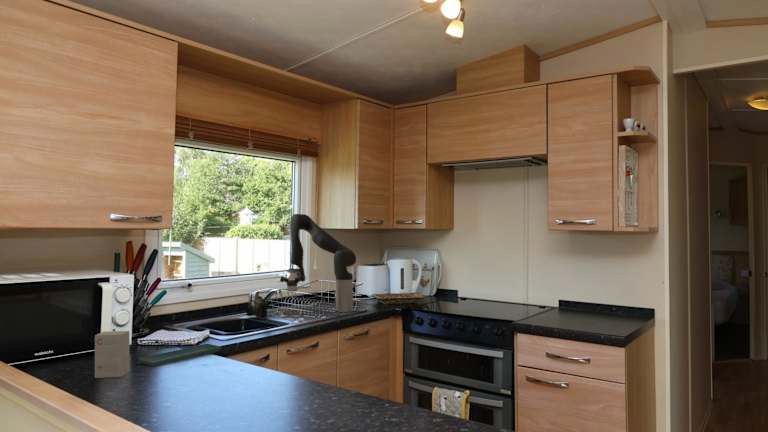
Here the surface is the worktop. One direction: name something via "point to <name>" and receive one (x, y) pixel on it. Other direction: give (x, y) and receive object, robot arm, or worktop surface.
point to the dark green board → (180, 354)
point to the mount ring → (290, 312)
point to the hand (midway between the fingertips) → (291, 280)
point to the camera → (258, 308)
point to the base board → (291, 316)
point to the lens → (292, 281)
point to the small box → (112, 354)
